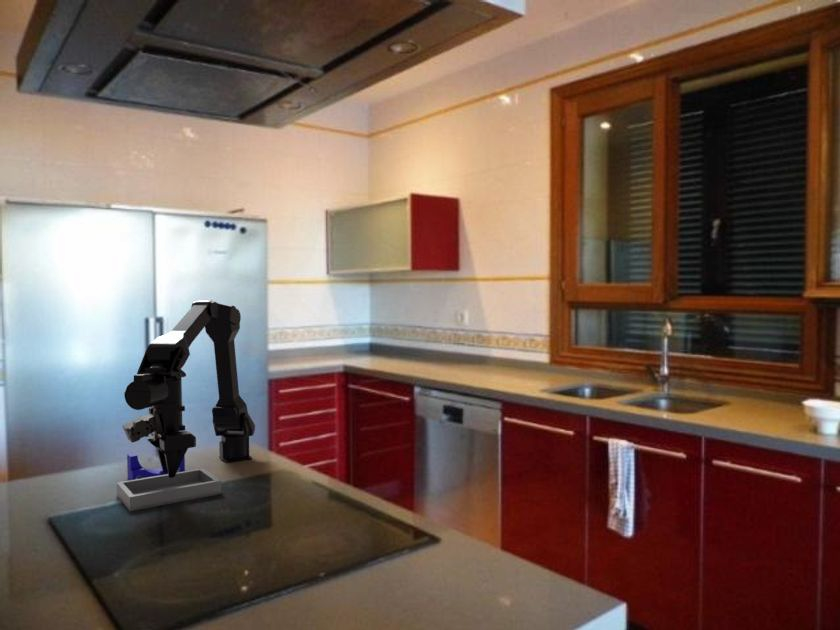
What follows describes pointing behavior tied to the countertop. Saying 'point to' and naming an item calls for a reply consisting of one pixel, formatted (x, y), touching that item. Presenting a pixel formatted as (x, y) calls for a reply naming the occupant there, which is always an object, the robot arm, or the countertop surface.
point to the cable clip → (139, 472)
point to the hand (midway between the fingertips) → (168, 475)
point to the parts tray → (167, 489)
